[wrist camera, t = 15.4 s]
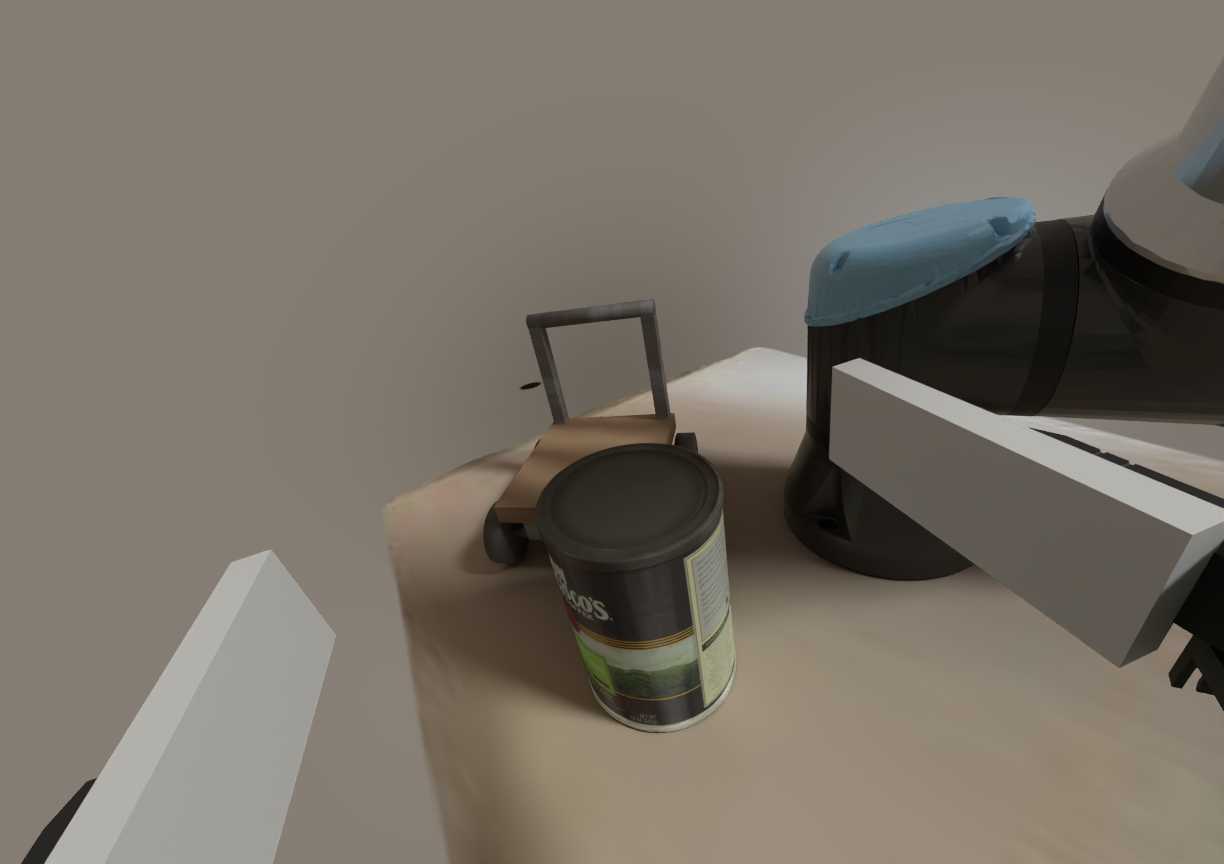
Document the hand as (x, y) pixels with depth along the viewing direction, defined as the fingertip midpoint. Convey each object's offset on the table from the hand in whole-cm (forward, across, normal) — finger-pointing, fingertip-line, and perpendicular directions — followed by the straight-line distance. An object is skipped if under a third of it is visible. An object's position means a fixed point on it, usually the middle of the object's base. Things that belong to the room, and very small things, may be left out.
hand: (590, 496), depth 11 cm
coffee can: (+11, +3, -23) cm, 26 cm away
